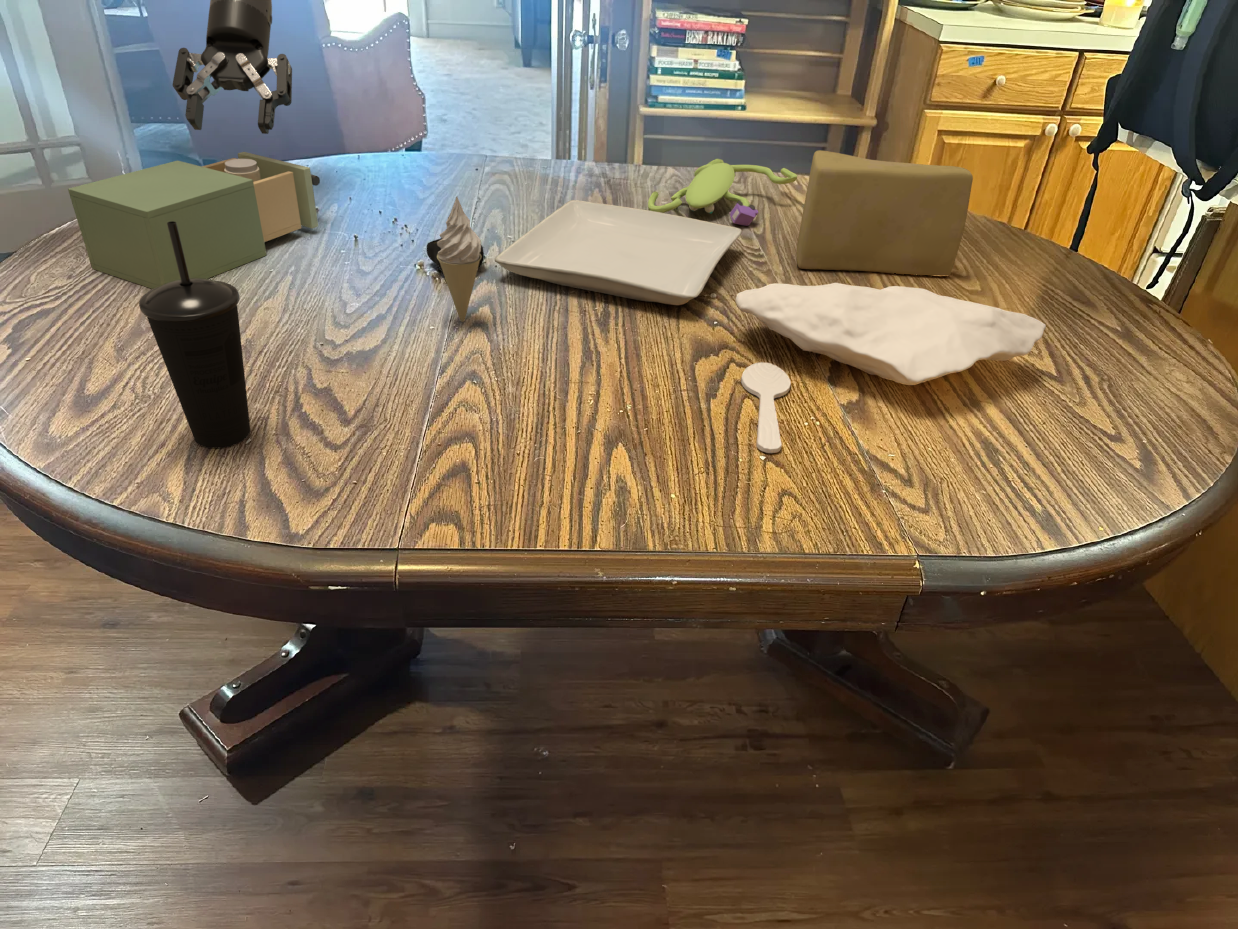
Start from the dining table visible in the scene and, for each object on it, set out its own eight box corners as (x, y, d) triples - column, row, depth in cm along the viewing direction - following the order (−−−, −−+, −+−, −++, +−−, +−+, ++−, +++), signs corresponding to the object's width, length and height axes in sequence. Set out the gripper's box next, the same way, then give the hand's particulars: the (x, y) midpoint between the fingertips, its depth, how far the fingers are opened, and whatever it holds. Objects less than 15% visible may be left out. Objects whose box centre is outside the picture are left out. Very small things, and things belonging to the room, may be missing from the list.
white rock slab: (1069, 425, 87) (1099, 340, 83) (728, 382, 90) (741, 297, 86) (1003, 354, 108) (1025, 283, 104) (729, 321, 111) (739, 250, 107)
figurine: (802, 197, 150) (808, 165, 147) (740, 238, 131) (745, 202, 128) (708, 176, 157) (712, 145, 154) (636, 212, 138) (639, 177, 135)
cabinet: (194, 234, 119) (177, 160, 113) (266, 255, 114) (253, 179, 109) (92, 268, 107) (67, 188, 102) (168, 294, 103) (146, 211, 97)
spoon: (741, 449, 82) (742, 445, 82) (741, 363, 97) (741, 359, 96) (797, 456, 82) (798, 451, 81) (788, 368, 96) (789, 364, 96)
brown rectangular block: (944, 264, 127) (974, 161, 119) (954, 289, 119) (987, 181, 111) (795, 247, 129) (814, 144, 121) (795, 270, 121) (816, 163, 113)
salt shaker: (227, 222, 118) (215, 163, 114) (252, 213, 121) (241, 156, 117) (251, 228, 117) (239, 169, 112) (275, 219, 120) (265, 161, 115)
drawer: (276, 201, 129) (266, 145, 125) (339, 218, 125) (331, 160, 120) (171, 236, 115) (156, 174, 111) (238, 257, 111) (225, 193, 106)
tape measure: (425, 263, 116) (423, 236, 113) (474, 257, 118) (473, 230, 116) (441, 282, 111) (439, 254, 109) (491, 275, 113) (490, 248, 111)
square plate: (570, 220, 133) (570, 195, 131) (740, 251, 126) (744, 225, 124) (492, 282, 112) (491, 253, 109) (692, 323, 105) (696, 293, 103)
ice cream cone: (451, 333, 99) (444, 205, 90) (434, 316, 102) (425, 191, 94) (491, 325, 101) (487, 199, 93) (472, 309, 104) (467, 186, 96)
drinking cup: (259, 406, 83) (216, 203, 72) (273, 446, 78) (230, 233, 67) (173, 422, 80) (114, 212, 69) (182, 464, 75) (120, 244, 63)
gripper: (172, -7, 109) (159, 108, 106) (286, 0, 110) (276, 114, 107) (196, 32, 116) (184, 141, 113) (303, 39, 117) (294, 147, 115)
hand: (229, 128), depth 110 cm, fingers open, 8 cm apart
